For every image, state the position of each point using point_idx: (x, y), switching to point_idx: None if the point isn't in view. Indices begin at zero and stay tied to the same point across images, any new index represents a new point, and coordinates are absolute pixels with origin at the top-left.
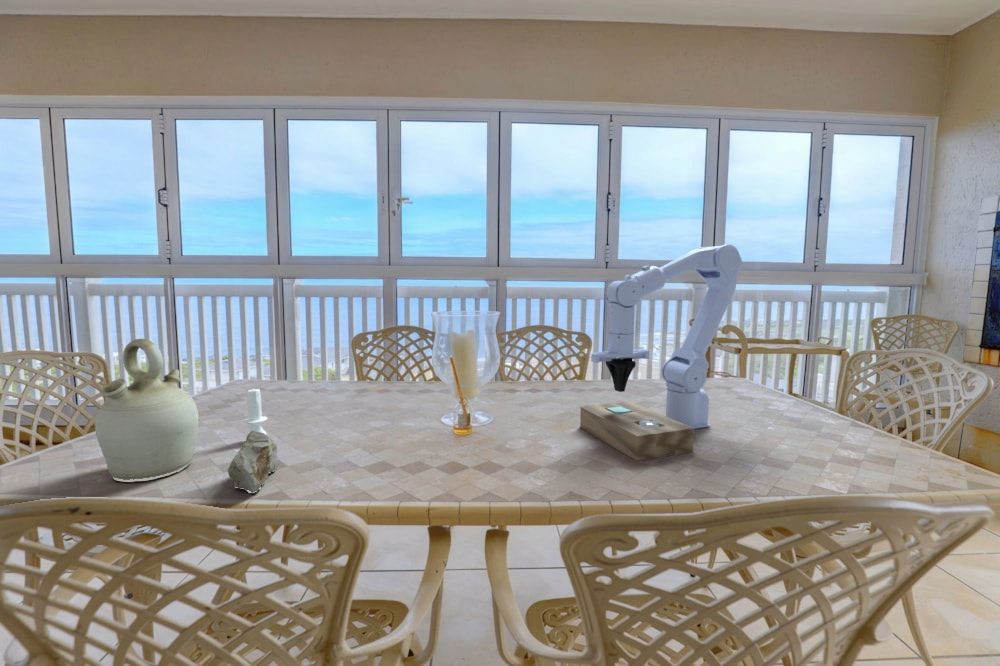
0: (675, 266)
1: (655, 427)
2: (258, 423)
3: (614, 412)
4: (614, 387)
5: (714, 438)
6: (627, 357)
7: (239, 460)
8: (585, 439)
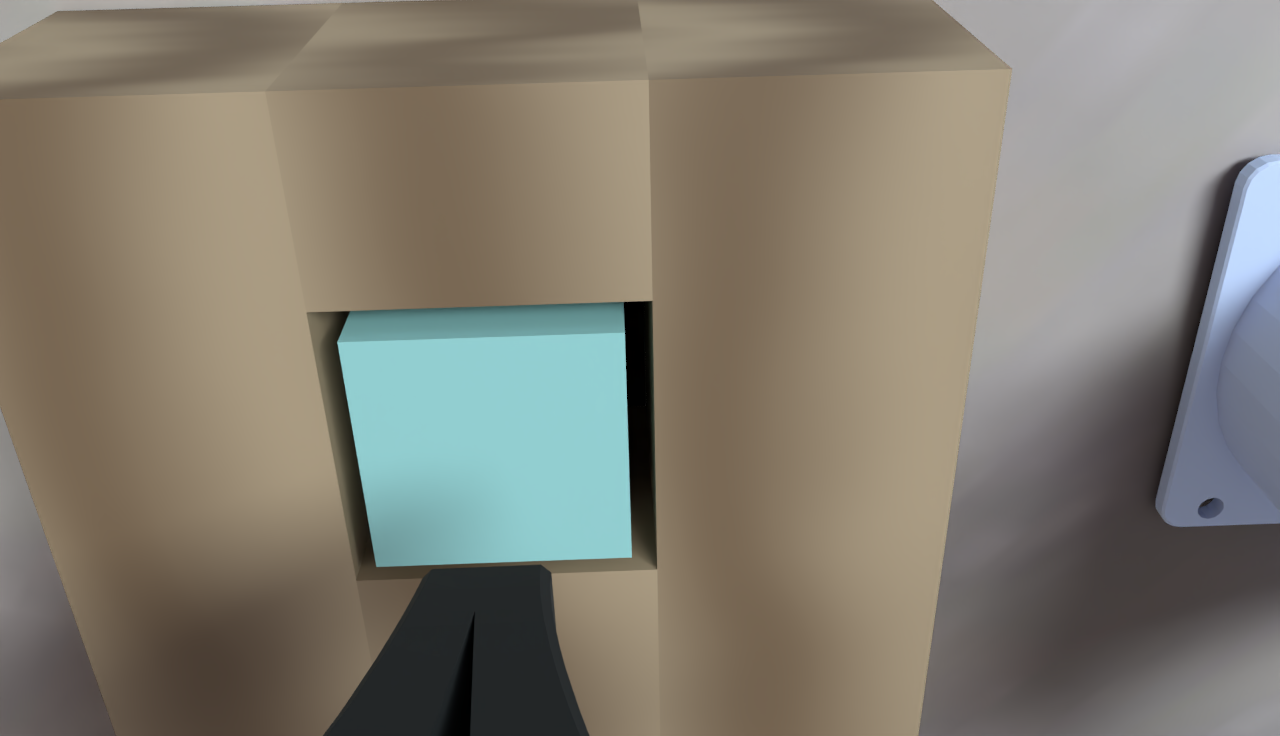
0: None
1: None
2: None
3: (370, 521)
4: (409, 607)
5: (1268, 715)
6: None
7: None
8: (5, 425)
